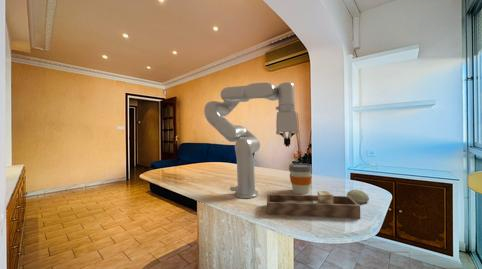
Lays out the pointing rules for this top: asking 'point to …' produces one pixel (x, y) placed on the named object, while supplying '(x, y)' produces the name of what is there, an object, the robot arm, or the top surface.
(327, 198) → the maple block
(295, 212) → the tray
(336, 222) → the top surface
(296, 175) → the reusable coffee cup
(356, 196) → the sea urchin shell
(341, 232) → the top surface
